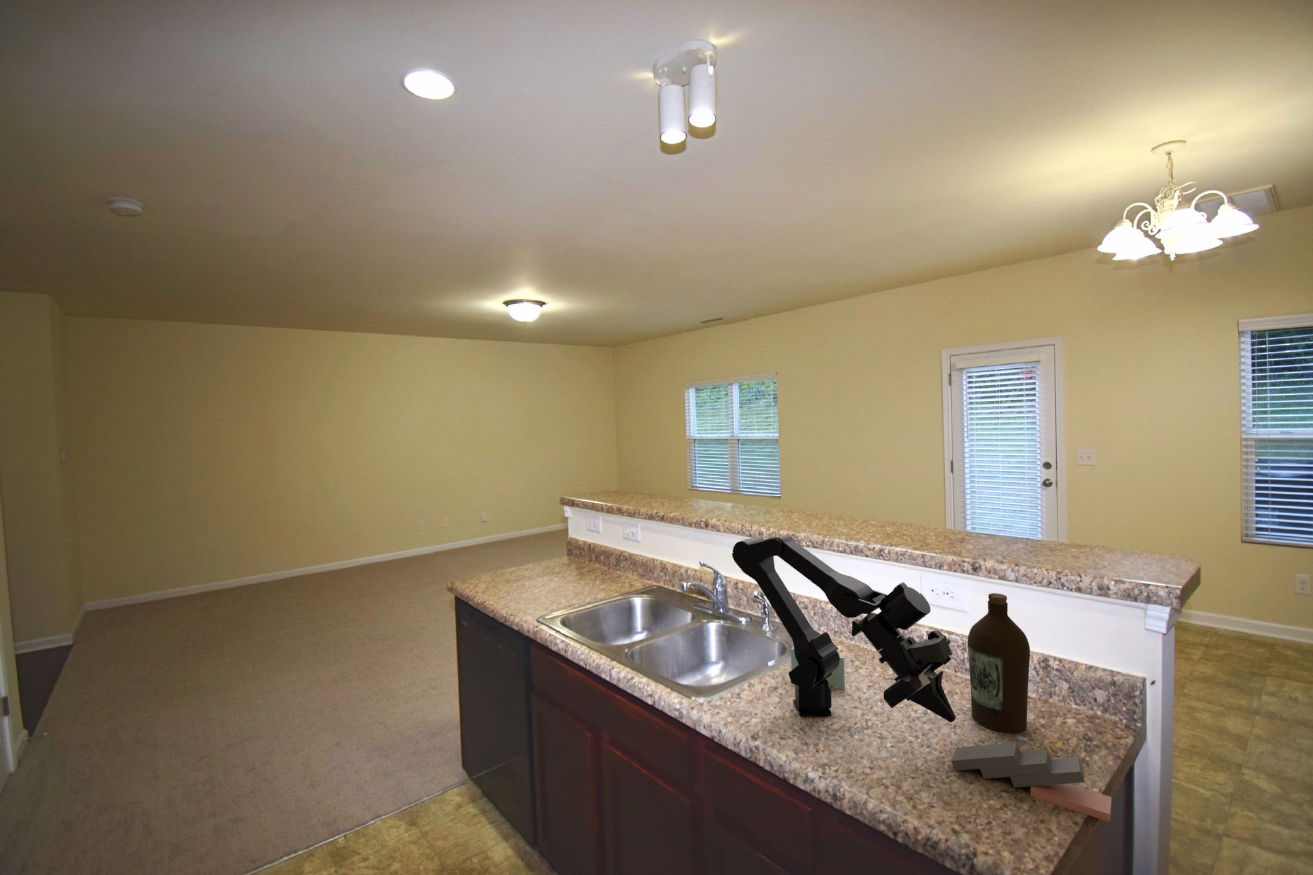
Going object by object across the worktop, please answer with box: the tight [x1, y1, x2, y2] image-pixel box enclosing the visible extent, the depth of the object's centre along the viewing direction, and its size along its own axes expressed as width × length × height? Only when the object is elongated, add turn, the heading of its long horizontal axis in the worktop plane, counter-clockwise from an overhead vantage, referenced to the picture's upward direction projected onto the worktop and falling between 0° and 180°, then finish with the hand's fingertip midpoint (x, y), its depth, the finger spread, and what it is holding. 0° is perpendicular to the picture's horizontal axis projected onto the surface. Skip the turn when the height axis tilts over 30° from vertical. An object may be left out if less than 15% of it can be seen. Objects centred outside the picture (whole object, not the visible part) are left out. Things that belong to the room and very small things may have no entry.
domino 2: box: [979, 748, 1052, 780], centre depth 97 cm, size 2×5×10 cm
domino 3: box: [1009, 756, 1086, 788], centre depth 95 cm, size 2×5×10 cm
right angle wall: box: [790, 645, 846, 690], centre depth 139 cm, size 12×12×8 cm
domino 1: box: [950, 741, 1022, 771], centre depth 99 cm, size 2×5×10 cm
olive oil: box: [967, 592, 1031, 734], centre depth 116 cm, size 11×11×25 cm
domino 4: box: [1030, 783, 1113, 823], centre depth 92 cm, size 2×5×10 cm
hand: (953, 720), depth 103 cm, fingers closed
